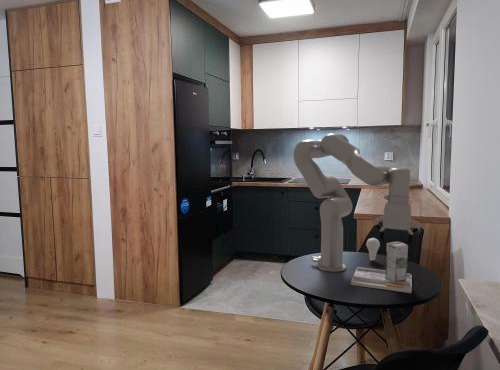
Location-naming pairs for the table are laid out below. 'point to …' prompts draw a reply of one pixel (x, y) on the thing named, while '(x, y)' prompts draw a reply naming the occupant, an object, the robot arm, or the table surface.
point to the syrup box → (396, 261)
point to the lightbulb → (372, 247)
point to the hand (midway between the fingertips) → (395, 242)
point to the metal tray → (378, 277)
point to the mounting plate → (383, 285)
